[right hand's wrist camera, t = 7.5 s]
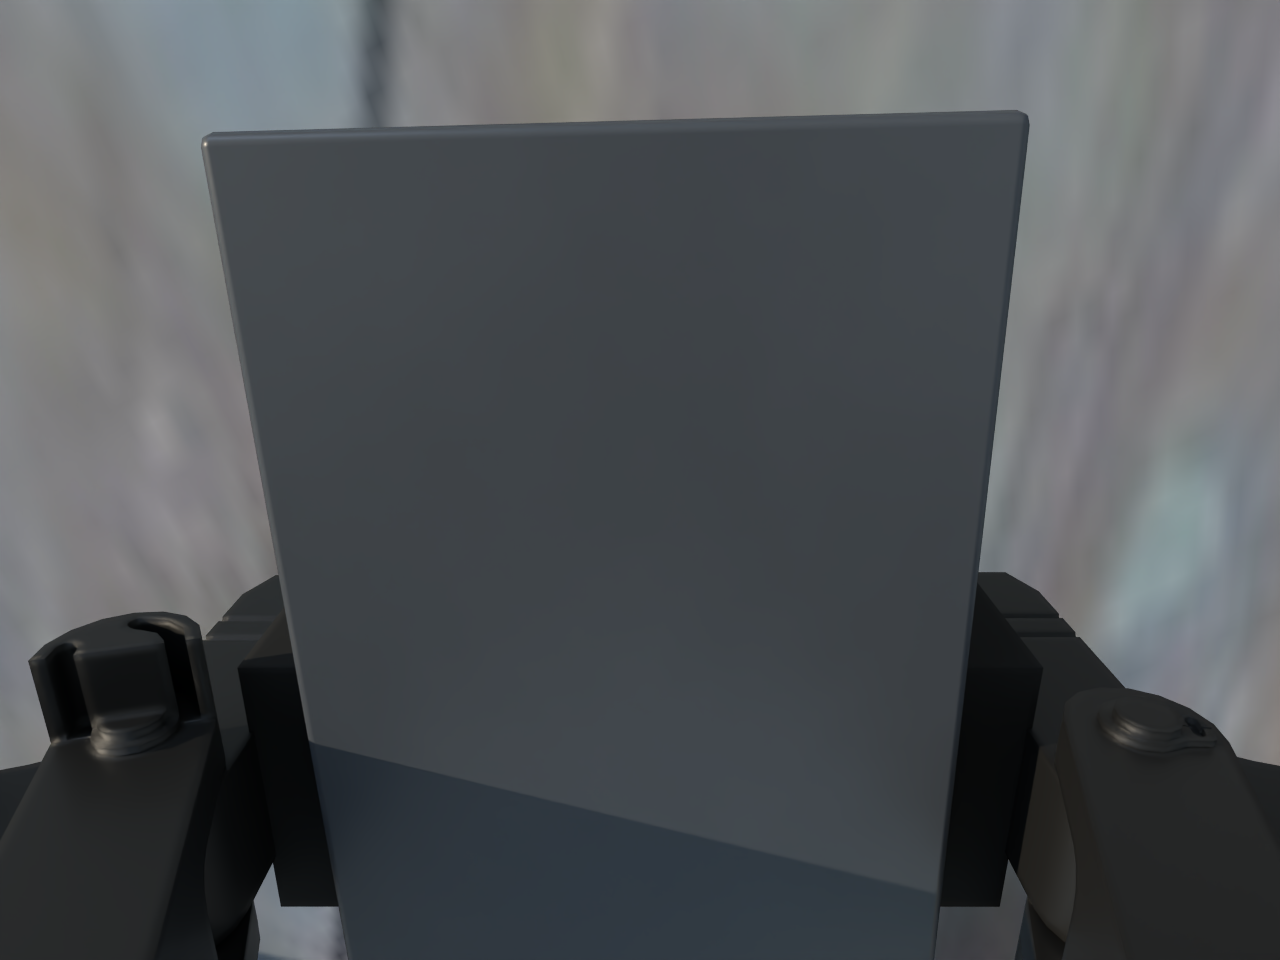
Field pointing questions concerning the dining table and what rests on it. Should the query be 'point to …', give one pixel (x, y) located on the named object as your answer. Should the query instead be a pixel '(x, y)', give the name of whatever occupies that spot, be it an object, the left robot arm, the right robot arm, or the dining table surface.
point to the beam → (628, 516)
